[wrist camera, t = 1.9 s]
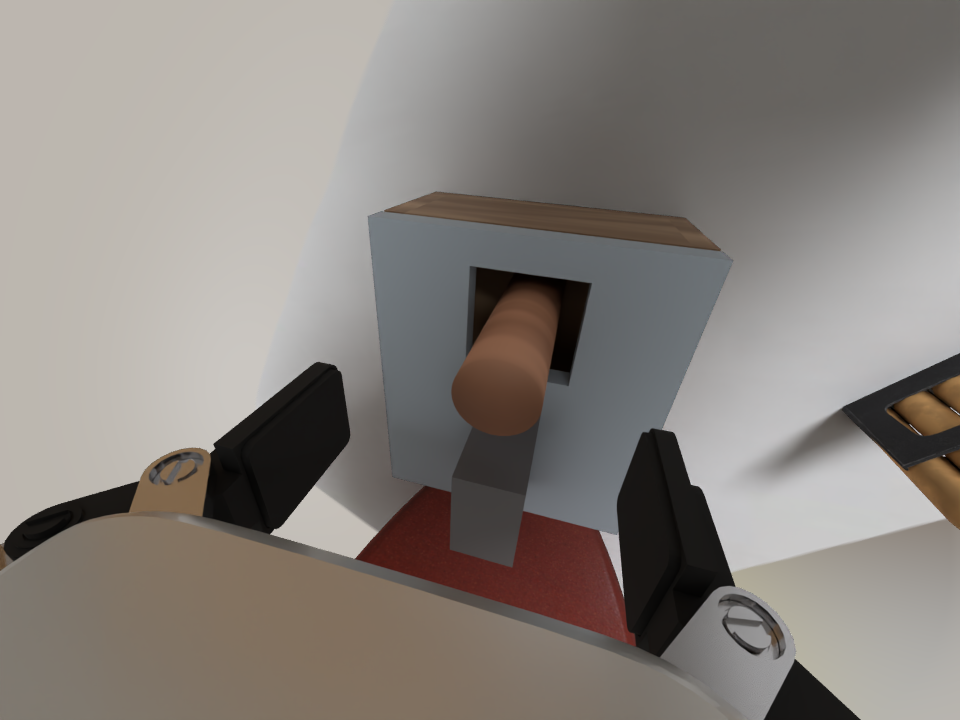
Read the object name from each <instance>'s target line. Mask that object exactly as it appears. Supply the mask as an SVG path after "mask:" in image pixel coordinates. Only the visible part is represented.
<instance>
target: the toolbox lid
mask: <svg viewBox="0 0 960 720" xmlns="http://www.w3.org/2000/svg"><path fill="white" fill-rule="evenodd" d="M368 224H369V234H370V245H371V255H372V266H373V276H374V287H375V297H376V308H377V318H378V329H379V339H380V350H381V360H382V371H383V381H384V392H385V402H386V413H387V423H388V434H389V444H390V455H391V465H392V476H393V477H395V478H398V479H402V480H406V481H410V482H414V483H418V484H422V485H426V486H429V487H433V488H437V489H441V490H445V491H449V492H451V520H450V550H453V551H457V552H460V553H464V554H467V555H471V556H474V557H478V558H481V559H484V560H488V561H491V562H495V563H498V564H502V565H505V566H509V567H512V566H513V561H514V556H515V550H516V545H517V540H518V535H519V529H520V524H521V519H522V513H523V511H526V512H530V513H534V514H537V515H541V516H545V517H549V518H553V519H557V520H561V521H565V522H568V523H572V524H576V525H580V526H584V527H588V528H592V529H595V530H599V531H603V532H607V533H611V534H615V535H617V534H618V532H619V530H618V519H617V498H618V495H619V492H620V489H621V487H622V484H623V481H624V479H625V476H626V473H627V471H628V468H629V465H630V463H631V460H632V457H633V455H634V452H635V449H636V447H637V444H638V441H639V439H640V436H641V434H642V432H648V433H649V431H650V429H652V428H654V429H659V430H662V428H663V425H664V423H665V421H666V418H667V416H668V414H669V411H670V409H671V406H672V404H673V402H674V399H675V397H676V395H677V392H678V390H679V388H680V385H681V383H682V380H683V378H684V376H685V373H686V371H687V369H688V366H689V364H690V362H691V359H692V357H693V354H694V352H695V350H696V347H697V345H698V343H699V340H700V338H701V336H702V333H703V331H704V328H705V326H706V324H707V321H708V319H709V317H710V314H711V312H712V310H713V307H714V305H715V303H716V300H717V298H718V295H719V293H720V291H721V288H722V286H723V284H724V281H725V279H726V277H727V274H728V272H729V269H730V267H731V265H732V262H733V260H732V259H731V258H730V257H729V256H728V255H726V254H725V253H724V252H721V251H713V250H705V249H696V248H688V247H679V246H671V245H662V244H654V243H645V242H637V241H628V240H620V239H611V238H603V237H594V236H586V235H577V234H569V233H561V232H552V231H544V230H535V229H527V228H518V227H510V226H501V225H493V224H484V223H476V222H467V221H459V220H450V219H442V218H434V217H425V216H417V215H408V214H400V213H391V212H383V211H381V212H378V213H375V214H372V215H370V216H368ZM477 267H481V268H488V269H495V270H502V271H509V272H516V273H523V274H531V275H538V276H545V277H552V278H559V279H566V280H573V281H580V282H587V283H590V286H589V290H588V295H587V299H586V303H585V308H584V312H583V317H582V321H581V326H580V330H579V335H578V339H577V343H576V348H575V352H574V357H573V361H572V366H571V370H570V373H569V372H564V371H558V370H553V369H549V375H548V380H547V386H546V391H545V396H544V402H543V407H542V412H541V415H540V417H539V419H538V421H537V422H536V423H535V424H534V425H533V426H532V427H531V428H530V429H528V430H527V431H525V432H523V433H520V434H517V435H512V436H497V435H491V434H488V433H485V432H482V431H480V430H478V429H476V428H474V427H473V426H471V425H470V424H469V423H467V422H466V421H465V420H464V419H463V418H462V417H461V416H460V414H459V413H458V411H457V410H456V408H455V406H454V403H453V401H452V395H451V389H452V384H453V381H454V378H455V376H456V375H457V373H458V371H459V369H460V368H461V366H462V364H463V362H464V361H465V359H466V357H467V355H468V354H469V352H470V350H471V348H472V341H473V323H474V305H475V287H476V269H477Z"/></svg>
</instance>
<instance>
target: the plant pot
mask: <svg viewBox="0 0 960 720" xmlns="http://www.w3.org/2000/svg"><path fill="white" fill-rule="evenodd" d="M450 520H451V492H449V491H445V490H441V489H437V488H433V487H429V486H426V485H425V486H424V487H423V488H422V489H421V490H420V491H419V492H418V493H417V494H416V495H415V496H414V497H412V498H411V499H410V500H409V501H408V502H407V503H406V504H405V505H404V506H403V507H402V508H401V509H400V510H399V511H398V512H397V513H396V514H395V515H394V516H393V517H392V518H391V519H390V521H389V522H388V523H387V524H386V525H385V526H384V527H383V528H382V529H381V530H380V531H379V532H378V533H377V535H376V536H375V537H374V538H373V539H372V540H371V541H370V542H369V543H368V544H367V546H366V547H365V548H364V549H363V550H362V551H361V553H360V554H359V555H358V556H357V557H356V558H355V559H356V560H360V561H363V562H366V563H370V564H373V565H377V566H380V567H383V568H387V569H390V570H394V571H397V572H400V573H404V574H407V575H410V576H414V577H417V578H421V579H424V580H427V581H431V582H434V583H437V584H441V585H444V586H447V587H451V588H454V589H457V590H461V591H464V592H467V593H471V594H474V595H477V596H481V597H484V598H487V599H491V600H494V601H497V602H501V603H504V604H507V605H511V606H514V607H517V608H521V609H524V610H527V611H530V612H534V613H537V614H540V615H543V616H547V617H550V618H553V619H556V620H559V621H562V622H565V623H568V624H572V625H575V626H578V627H581V628H584V629H587V630H590V631H593V632H597V633H600V634H603V635H605V636H608V637H611V638H614V639H616V640H619V641H622V642H624V643H627V644H630V645H632V646H635V647H636V641H635V634H634V633H630V632H629V631H628V629H627V623H626V611H625V600H624V597H623V594H622V591H621V588H620V585H619V582H618V579H617V576H616V573H615V570H614V567H613V565H612V562H611V559H610V556H609V554H608V551H607V549H606V547H605V544H604V542H603V539H602V537H601V534H600V532H599V530H595V529H592V528H588V527H584V526H580V525H576V524H572V523H568V522H565V521H561V520H557V519H553V518H549V517H545V516H541V515H537V514H534V513H530V512H526V511H523V513H522V519H521V524H520V529H519V535H518V540H517V545H516V550H515V556H514V561H513V566H512V567H509V566H505V565H502V564H498V563H495V562H491V561H488V560H484V559H481V558H478V557H474V556H471V555H467V554H464V553H460V552H457V551H453V550H450Z"/></svg>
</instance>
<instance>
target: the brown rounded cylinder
mask: <svg viewBox="0 0 960 720" xmlns="http://www.w3.org/2000/svg"><path fill="white" fill-rule="evenodd" d="M565 283H566V279H559V278H552V277H545V276H538V275H531V274H523V273H516V272H515V273H514V275H513V277H512V278H511V280H510V282H509V284H508V285H507V287H506V289H505V291H504V292H503V294H502V296H501V298H500V299H499V301H498V303H497V305H496V306H495V308H494V310H493V312H492V313H491V315H490V317H489V319H488V320H487V322H486V324H485V326H484V327H483V329H482V331H481V333H480V334H479V336H478V338H477V340H476V341H475V343H474V345H473V347H472V348H471V350H470V352H469V354H468V355H467V357H466V359H465V361H464V362H463V364H462V366H461V368H460V369H459V371H458V373H457V375H456V376H455V378H454V381H453V384H452V389H451V395H452V401H453V403H454V406H455V408H456V410H457V411H458V413H459V414H460V416H461V417H462V418H463V419H464V420H465V421H466V422H467V423H469V424H470V425H471V426H473V427H474V428H476V429H478V430H480V431H482V432H485V433H488V434H491V435H497V436H512V435H517V434H520V433H523V432H525V431H527V430H528V429H530V428H531V427H532V426H533V425H534V424H535V423H536V422H537V421H538V419H539V417H540V415H541V412H542V407H543V402H544V396H545V391H546V386H547V380H548V375H549V369H550V364H551V359H552V353H553V348H554V343H555V337H556V332H557V326H558V321H559V316H560V310H561V305H562V299H563V294H564V289H565Z"/></svg>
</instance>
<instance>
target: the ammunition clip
mask: <svg viewBox="0 0 960 720" xmlns="http://www.w3.org/2000/svg"><path fill="white" fill-rule="evenodd" d="M950 407H951V408H953V409H954V410H955V411H957V412H958V413H959V414H960V353H959V354H957V355H955V356H953V357H950V358H948V359H946V360H944V361H942V362H940V363H937V364H935V365H933V366H931V367H929V368H926V369H924V370H922V371H920V372H918V373H916V374H913V375H911V376H909V377H907V378H905V379H903V380H900V381H898V382H896V383H894V384H892V385H889V386H887V387H885V388H883V389H881V390H879V391H876V392H874V393H872V394H870V395H868V396H865V397H863V398H861V399H859V400H857V401H855V402H852V403H850V404H848V405H846V406H844V408H843V411H844V412H845V413H846V414H847V415H848V416H849V417H850V418H851V419H852V421H853V422H854V423H855V424H856V425H857V426H858V427H859V428H860V429H861V430H862V431H864V432H865V433H866V434H867V435H868V436H869V437H870V438H871V439H872V440H873V441H874V442H875V443H876V444H877V445H878V446H879V447H880V448H881V449H882V450H883V451H884V452H885V453H886V454H887V455H888V456H889V457H890V459H891V460H892V461H893V462H894V463H895V464H896V465H897V466H898V467H899V468H900V469H901V470H902V471H903V472H904V474H905V475H906V476H907V477H908V478H909V479H910V480H911V481H912V482H913V483H914V484H915V485H916V486H917V487H918V488H919V490H920V491H921V492H922V493H923V494H924V495H925V496H926V497H927V498H928V499H929V500H930V501H931V502H932V503H933V505H934V506H935V507H936V508H937V509H938V510H939V511H940V512H941V513H942V514H943V515H944V516H945V517H946V518H947V519H948V520H949V521H950V522H951V523H952V524H953V525H954V526H956V527H957V528H958V529H959V530H960V415H958V414H957V413H956V412H954V411H953V410H952V409H950ZM909 424H911V425H912V426H913V427H914V428H915V429H916V430H917V431H918V432H919V433H921V434H922V435H923V436H922V435H919V434H918V433H917V432H916V431H915V430H914V429H913V428H912V427H911V426H910V425H909ZM942 455H945V456H946V457H943V456H942Z"/></svg>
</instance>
